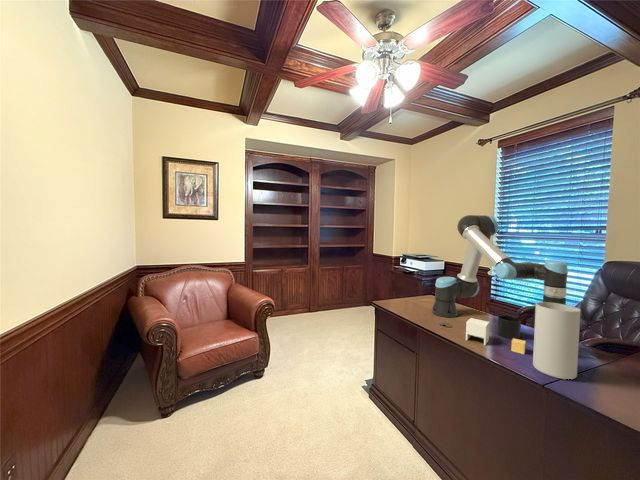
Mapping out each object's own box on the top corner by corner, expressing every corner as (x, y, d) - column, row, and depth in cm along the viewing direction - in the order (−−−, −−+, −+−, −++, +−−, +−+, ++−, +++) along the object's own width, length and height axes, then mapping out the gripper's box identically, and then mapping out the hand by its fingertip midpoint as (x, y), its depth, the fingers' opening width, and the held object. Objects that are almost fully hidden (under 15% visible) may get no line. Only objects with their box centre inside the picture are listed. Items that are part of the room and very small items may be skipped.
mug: (529, 338, 130) (529, 320, 130) (508, 340, 128) (509, 321, 128) (511, 331, 140) (512, 314, 139) (492, 332, 137) (493, 315, 137)
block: (512, 347, 120) (513, 338, 120) (525, 351, 117) (525, 341, 116) (511, 351, 116) (511, 341, 116) (524, 354, 113) (524, 344, 113)
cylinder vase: (524, 365, 104) (527, 303, 103) (546, 361, 107) (549, 301, 107) (562, 383, 92) (565, 312, 91) (585, 377, 96) (588, 310, 95)
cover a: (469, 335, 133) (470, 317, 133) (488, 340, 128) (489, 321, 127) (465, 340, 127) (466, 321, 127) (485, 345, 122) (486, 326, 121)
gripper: (523, 293, 120) (521, 341, 121) (589, 302, 106) (585, 357, 107) (525, 290, 125) (523, 337, 126) (587, 299, 111) (584, 351, 112)
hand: (551, 346), depth 116 cm, fingers closed on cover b, 8 cm apart
